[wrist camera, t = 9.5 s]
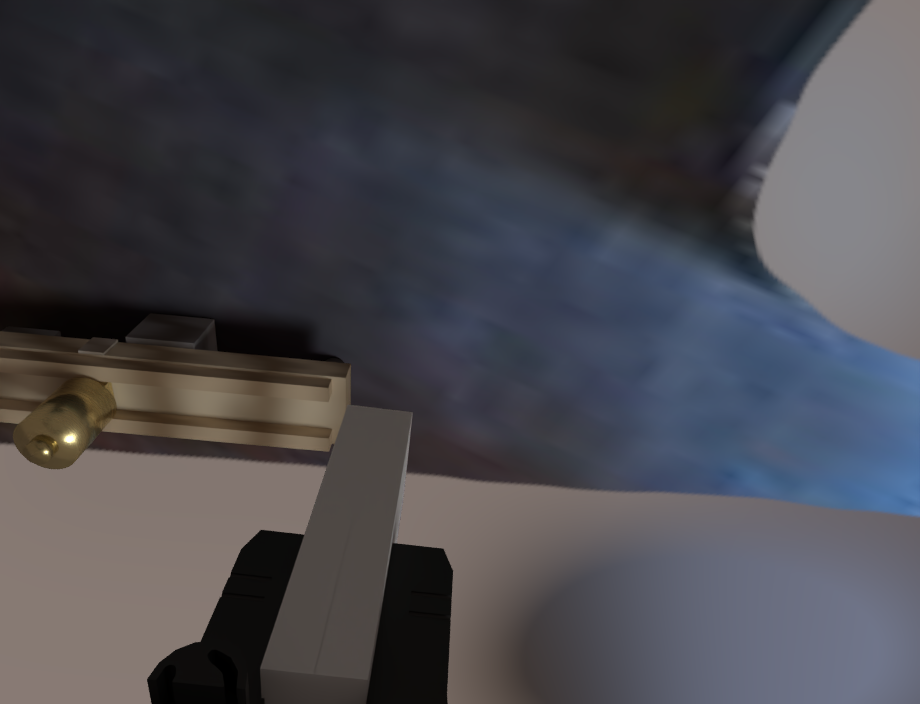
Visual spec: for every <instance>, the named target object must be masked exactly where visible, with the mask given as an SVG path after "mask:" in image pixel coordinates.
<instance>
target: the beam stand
mask: <svg viewBox="0 0 920 704" xmlns="http://www.w3.org/2000/svg"><path fill="white" fill-rule="evenodd" d="M125 338H126V343H122V342H118V340H117V339H107V338H96V337H93V338H92V339H79V338H68V337H61V333H60V331H54V330H43V329H32V328H22V327H11V326H7V327H6V328H4V329H3V330H2V331H0V422H6V423H17V424H19V423H20V422H21V421H23V420H24V419H25V418H26V417H27V416H28V415H29V414H30V413H31V412H32V411H33V410H35V409H36V408H37V407H38V406H39V405H40V404H41V403H42V402H43V401H44V400H45V399H46V398H48V397H49V396H50V395H51V394H52V393H53V392H54V391H55V390H56V389H57V388H58V387H60V386H61V385H62V384H63V383H64V382H65V381H67V380H68V379H71V378H76V377H83V378H88V379H92V380H94V381H102V382H111V383H112V388H113V393H114V398H115V401H116V404H117V411H116V414H115V416H114V418H113V419H112V420H111V421H110V422H109V423H108V424H107V426H106V427H105V428H104V429H103V430H102V431H106V432H117V433H128V434H139V435H151V436H162V437H173V438H184V439H195V440H206V441H217V442H228V443H239V444H251V445H262V446H273V447H284V448H295V449H306V450H317V451H328V452H329V450H330V447H331V444H335V441H336V438H337V435H338V432H339V429H340V426H341V423H342V420H343V417H344V414H345V411H346V408H347V405H350V396H351V364H347V363H344V362H343V361H342V360H340V359H338V358H329V359H327V360H326V361H315V360H304V359H294V358H283V357H272V356H261V355H251V354H240V353H229V352H219V351H218V350H217V341H216V332H215V323H214V319H206V318H195V317H185V316H174V315H163V314H153V313H150V314H149V315H148V316H147V317H146V318H145V319H144V320H143V321H142V322H141V323H140V324H138V325H137V326H136V327H135V328H134V329H133V330H132V331H131V332H130V333H129V334H128V335H127V336H126V337H125Z"/></svg>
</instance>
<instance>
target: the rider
mask: <svg viewBox="0 0 920 704" xmlns="http://www.w3.org/2000/svg"><path fill="white" fill-rule="evenodd" d="M116 411H117V404H116V401H115V398H114V393H113V388H112V383H111V382H102V381H94V380H92V379H88V378H83V377H76V378H71V379H68V380H67V381H65V382H64V383H63V384H62V385H61V386H60V387H58V388H57V389H56V390H55V391H54V392H53V393H52V394H51V395H50V396H49V397H48V398H46V399H45V400H44V401H43V402H42V403H41V404H40V405H39V406H38V407H37V408H36V409H35V410H33V411H32V412H31V413H30V414H29V415H28V416H27V417H26V418H25V419H24V420H23V421H21V422H20V423H19V424H18V425H17V426H16V428H15V430H14V433H13V439H14V443H15V445H16V447H17V449H18V450H19V451H20V453H21V454H22V455H23V456H24V457H25V458H27V460H29V461H30V462H32V463H34V464H37V465H39V466H41V467H44V468H49V469H63V468H66V467H69V466H70V465H72V464H73V463H74V462H75V461H76V460H77V459H78V458H79V456H80V455H81V454H82V453H83V452H84V451H85V450H86V448H87V447H88V446H89V445H90V444H91V443H92V442H93V440H94V439H95V438H96V437H97V436H98V435H99V434H100V432H101V431H102V430H103V429H104V428H105V427H106V426H107V424H108V423H109V422H110V421H111V420H112V419H113V418H114V416H115V414H116Z"/></svg>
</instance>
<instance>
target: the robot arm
mask: <svg viewBox="0 0 920 704" xmlns="http://www.w3.org/2000/svg"><path fill="white" fill-rule="evenodd" d="M412 413H413V412H405V411H397V410H388V409H380V408H371V407H363V406H355V405H347V408H346V411H345V414H344V417H343V420H342V423H341V426H340V429H339V432H338V435H337V438H336V441H335V444H334V447H333V450H332V453H331V456H330V459H329V462H328V465H327V468H326V471H325V475H324V478H323V481H322V484H321V487H320V490H319V493H318V496H317V499H316V502H315V505H314V508H313V511H312V514H311V517H310V520H309V523H308V526H307V529H306V532H305V535H301V534H293V533H284V532H275V531H266V530H261V531H259V532H258V533H257V534H256V535H255V536H254V537H253V538H252V539H251V540H250V541H249V542H248V543H247V544H246V545H245V546H244V547H243V548H242V549H241V551H240V553H239V555H238V558H237V560H236V562H235V564H234V567H233V569H232V572H231V576H230V578H228V580H227V583H226V585H225V587H224V590H223V592H222V597H220V599H219V601H218V603H217V606H216V608H215V610H214V612H213V615H212V617H211V619H210V621H209V624H208V626H207V628H206V631H205V633H204V635H203V637H202V640H201V642H195V643H193V644H190V645H187V646H185V647H182V648H180V649H177V650H175V651H174V652H172V653H171V654H170V655H169V656H167V657H166V658H165V659H163V660H162V661H161V662H159V664H158V665H157V666H156V668H155V669H154V671H153V672H152V673H151V675H150V676H149V677H148V679H147V682H148V687H149V692H150V698H151V703H152V704H448V703H447V683H448V662H449V641H450V617H451V597H452V580H453V570H452V568H451V565H450V563H449V561H448V558H447V556H446V554H445V551H444V549H441V548H432V547H423V546H414V545H405V544H397V537H398V530H399V524H400V518H401V511H402V504H403V497H404V487H405V479H406V469H407V460H408V450H409V441H410V431H411V422H412Z"/></svg>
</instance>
